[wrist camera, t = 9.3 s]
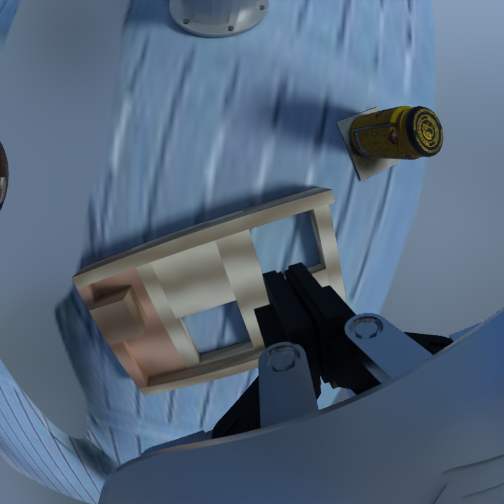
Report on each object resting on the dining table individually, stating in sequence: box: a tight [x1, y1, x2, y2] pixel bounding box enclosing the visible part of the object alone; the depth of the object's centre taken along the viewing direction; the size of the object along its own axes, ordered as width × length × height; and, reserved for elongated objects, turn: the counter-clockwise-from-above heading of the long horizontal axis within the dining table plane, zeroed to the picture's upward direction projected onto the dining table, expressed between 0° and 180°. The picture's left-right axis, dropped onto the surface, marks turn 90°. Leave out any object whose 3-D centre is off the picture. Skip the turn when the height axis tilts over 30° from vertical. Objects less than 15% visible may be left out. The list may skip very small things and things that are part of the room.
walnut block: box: [89, 285, 149, 345], centre depth 29 cm, size 5×5×4 cm
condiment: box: [337, 106, 443, 181], centre depth 26 cm, size 7×8×12 cm
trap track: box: [72, 187, 346, 395], centre depth 33 cm, size 20×32×4 cm, turn 107°
